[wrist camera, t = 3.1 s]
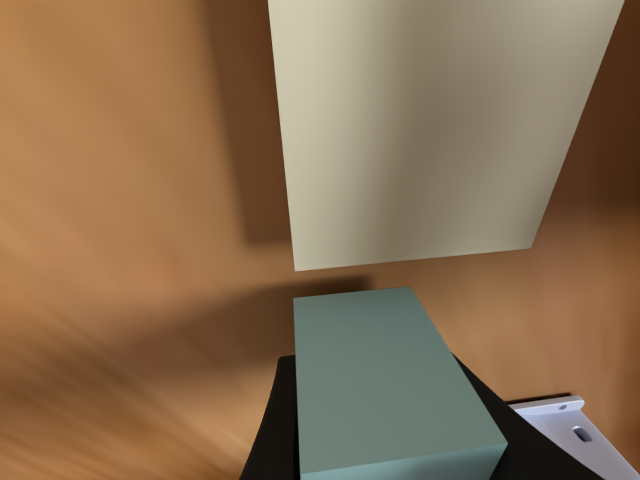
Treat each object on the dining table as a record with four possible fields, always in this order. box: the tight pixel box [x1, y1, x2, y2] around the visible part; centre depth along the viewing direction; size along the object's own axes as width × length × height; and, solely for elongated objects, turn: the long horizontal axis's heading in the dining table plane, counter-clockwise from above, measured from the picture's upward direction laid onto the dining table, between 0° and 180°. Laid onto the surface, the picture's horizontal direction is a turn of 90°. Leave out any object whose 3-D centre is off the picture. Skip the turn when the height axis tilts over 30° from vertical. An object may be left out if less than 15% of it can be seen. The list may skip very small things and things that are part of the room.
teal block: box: [293, 286, 508, 480], centre depth 9 cm, size 4×4×6 cm
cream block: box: [268, 0, 625, 271], centre depth 8 cm, size 8×8×2 cm
